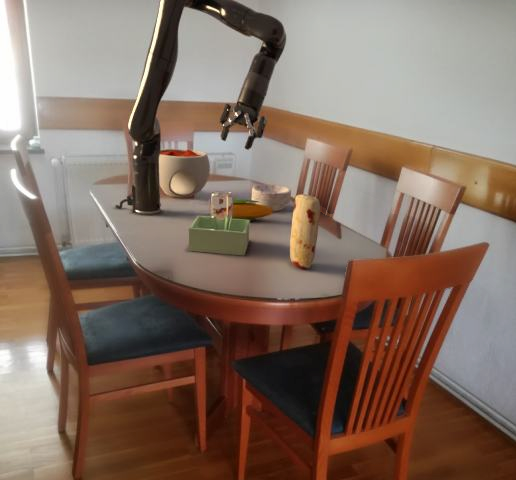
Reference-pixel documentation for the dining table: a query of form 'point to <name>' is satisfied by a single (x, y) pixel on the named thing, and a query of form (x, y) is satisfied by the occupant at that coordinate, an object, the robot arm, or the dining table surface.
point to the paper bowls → (271, 196)
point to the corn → (249, 210)
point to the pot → (183, 172)
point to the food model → (304, 230)
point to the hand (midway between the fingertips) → (234, 144)
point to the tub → (219, 237)
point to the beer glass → (221, 210)
